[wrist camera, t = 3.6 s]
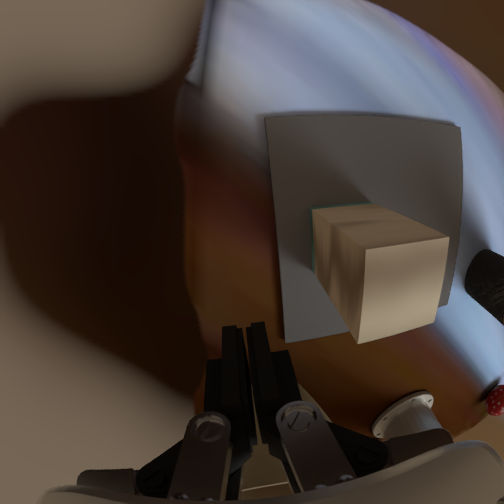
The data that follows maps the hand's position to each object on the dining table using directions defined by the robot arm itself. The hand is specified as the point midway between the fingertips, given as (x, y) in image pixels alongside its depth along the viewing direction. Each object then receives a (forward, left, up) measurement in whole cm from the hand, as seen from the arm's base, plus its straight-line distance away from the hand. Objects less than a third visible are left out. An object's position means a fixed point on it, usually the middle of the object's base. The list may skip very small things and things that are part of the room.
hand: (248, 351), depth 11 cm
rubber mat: (0, -14, -15) cm, 20 cm away
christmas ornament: (-48, -59, -15) cm, 78 cm away
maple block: (0, -9, -14) cm, 17 cm away
